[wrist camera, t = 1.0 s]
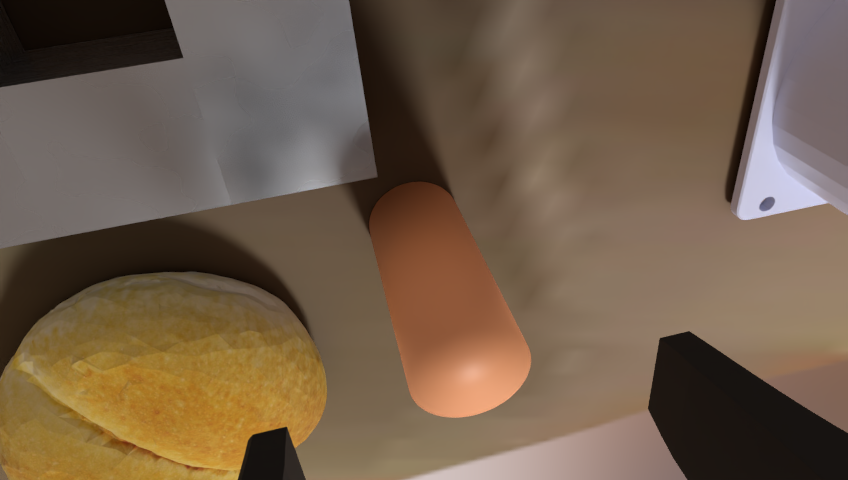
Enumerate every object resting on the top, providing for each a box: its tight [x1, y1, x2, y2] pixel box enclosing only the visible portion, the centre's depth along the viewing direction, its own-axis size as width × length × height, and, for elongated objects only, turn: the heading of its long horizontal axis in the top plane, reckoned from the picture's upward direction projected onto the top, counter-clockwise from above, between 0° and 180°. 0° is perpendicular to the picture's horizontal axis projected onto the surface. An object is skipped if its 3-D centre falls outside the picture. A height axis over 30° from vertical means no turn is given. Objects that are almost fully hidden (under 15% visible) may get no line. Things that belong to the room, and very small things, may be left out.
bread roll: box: [0, 272, 327, 480], centre depth 17 cm, size 8×9×4 cm
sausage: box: [369, 182, 531, 417], centre depth 15 cm, size 3×3×6 cm
